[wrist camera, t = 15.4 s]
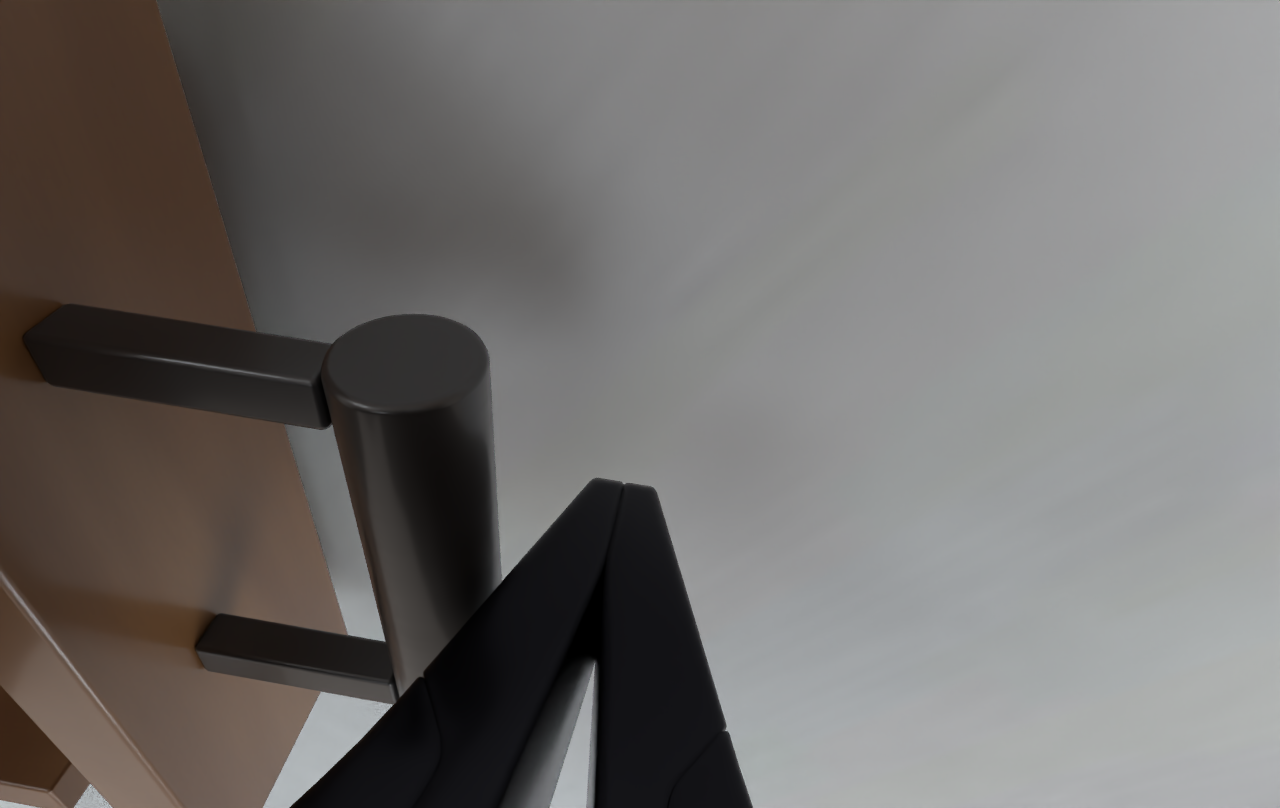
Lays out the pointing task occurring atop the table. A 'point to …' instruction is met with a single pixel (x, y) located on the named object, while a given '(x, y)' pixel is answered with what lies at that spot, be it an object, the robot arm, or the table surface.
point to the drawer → (193, 452)
